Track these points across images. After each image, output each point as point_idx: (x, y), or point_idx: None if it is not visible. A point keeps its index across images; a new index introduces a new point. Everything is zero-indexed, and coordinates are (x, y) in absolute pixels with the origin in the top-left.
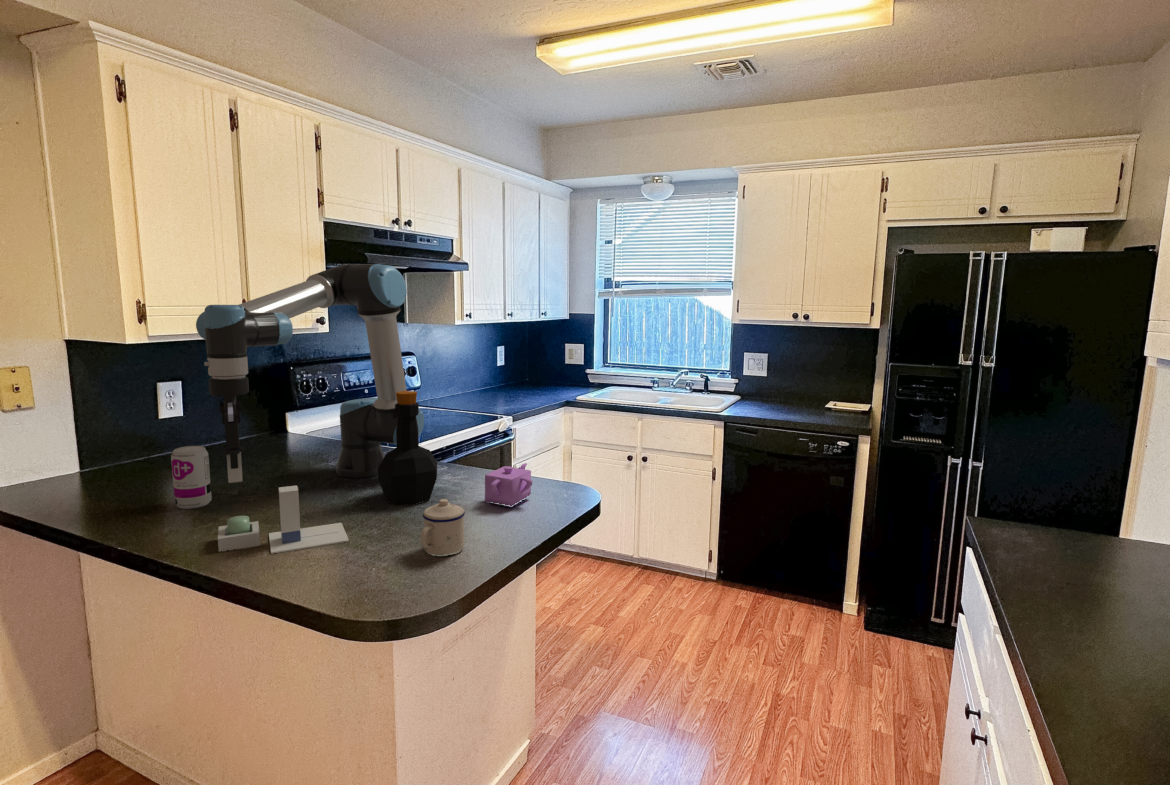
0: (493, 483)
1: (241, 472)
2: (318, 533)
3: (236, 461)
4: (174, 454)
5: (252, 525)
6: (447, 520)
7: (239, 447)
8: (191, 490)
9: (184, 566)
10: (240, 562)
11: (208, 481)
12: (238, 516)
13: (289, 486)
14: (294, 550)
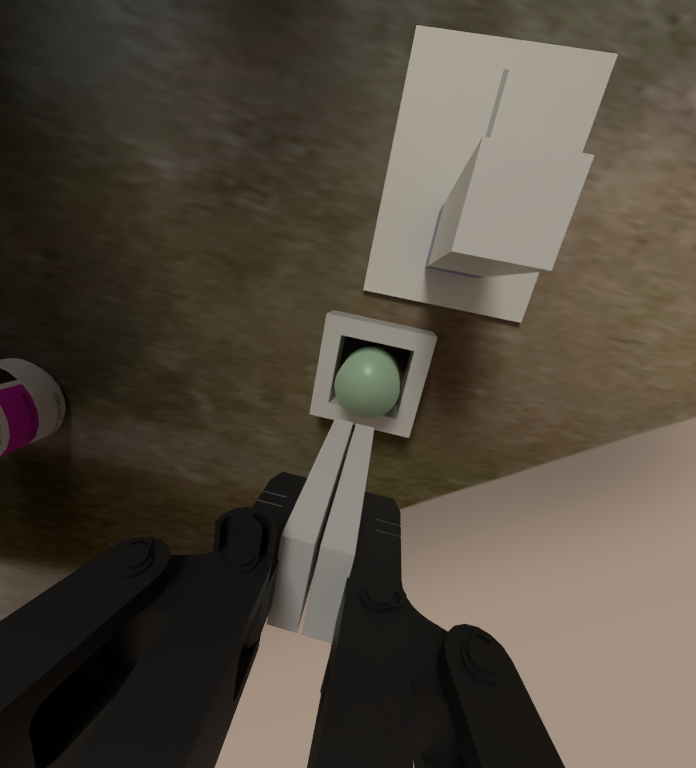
0: None
1: (369, 454)
2: (468, 146)
3: (399, 548)
4: None
5: (356, 337)
6: None
7: (345, 621)
8: (14, 425)
9: (445, 494)
10: (514, 398)
11: None
12: (341, 381)
13: (474, 187)
14: None
